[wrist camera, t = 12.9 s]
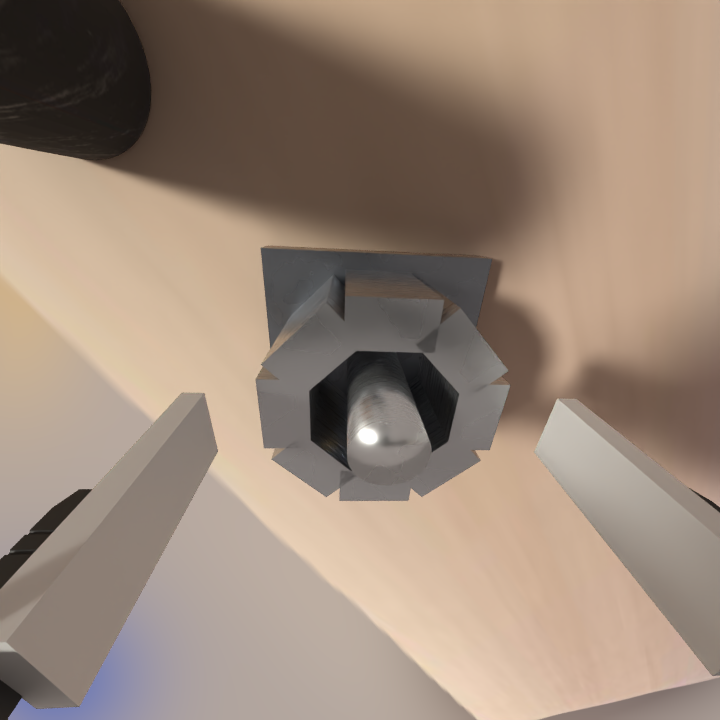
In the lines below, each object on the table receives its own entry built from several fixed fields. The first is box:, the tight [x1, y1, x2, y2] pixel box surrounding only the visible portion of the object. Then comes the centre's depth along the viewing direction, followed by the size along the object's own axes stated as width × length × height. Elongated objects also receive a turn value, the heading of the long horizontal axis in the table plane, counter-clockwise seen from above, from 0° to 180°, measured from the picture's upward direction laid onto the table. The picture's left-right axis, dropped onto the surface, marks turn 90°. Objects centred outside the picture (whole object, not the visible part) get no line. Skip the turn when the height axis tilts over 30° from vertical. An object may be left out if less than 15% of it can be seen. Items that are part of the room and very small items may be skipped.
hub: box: [256, 270, 510, 501], centre depth 15 cm, size 10×10×6 cm
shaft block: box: [261, 246, 492, 486], centre depth 14 cm, size 12×12×10 cm
